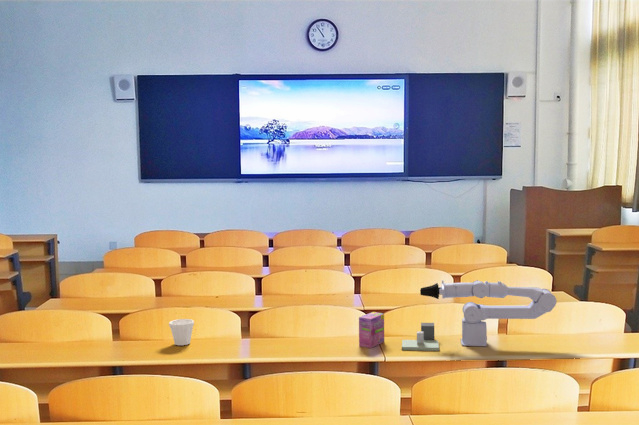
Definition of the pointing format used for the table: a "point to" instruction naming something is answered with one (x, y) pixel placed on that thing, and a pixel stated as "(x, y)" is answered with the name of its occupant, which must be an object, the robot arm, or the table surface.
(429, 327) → the cap
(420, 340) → the post
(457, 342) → the table surface
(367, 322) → the box
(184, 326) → the cup
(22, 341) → the table surface
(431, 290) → the robot arm
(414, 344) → the board
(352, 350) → the table surface
